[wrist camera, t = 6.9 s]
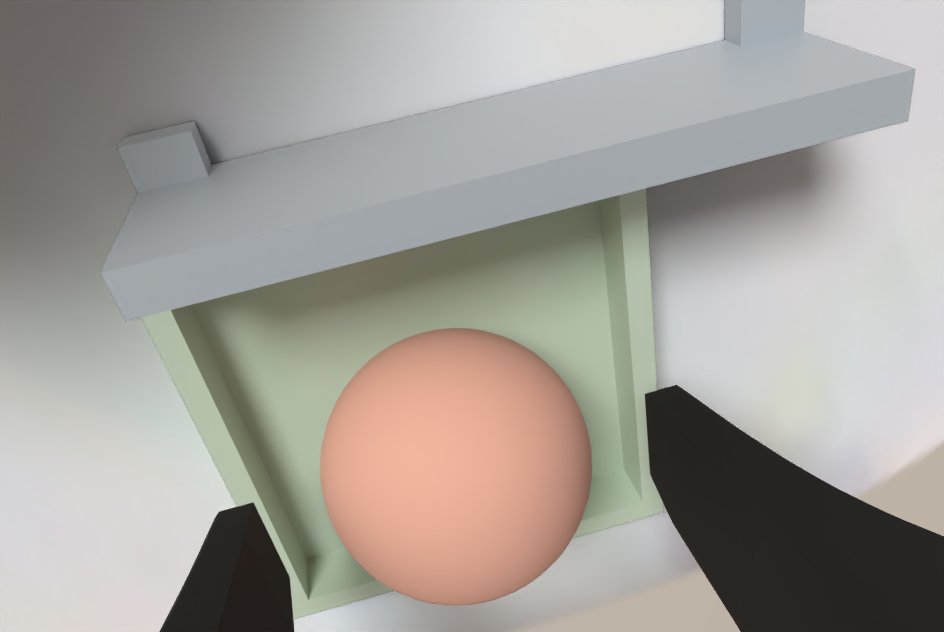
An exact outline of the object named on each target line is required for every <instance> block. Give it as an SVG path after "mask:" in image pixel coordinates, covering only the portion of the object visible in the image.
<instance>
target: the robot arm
mask: <svg viewBox="0 0 944 632" xmlns="http://www.w3.org/2000/svg"><path fill="white" fill-rule="evenodd" d="M645 407H646V422H647V437H648V452H649V467H650V475H651V477H652V480H653V482H654V484H655V486H656V488H657V491H658V493H659V495H660V497H661V499H662V502H663V504H664V506H665V508H666V510H667V512H668V514H669V516H670V518H671V520H672V522H673V524H674V526H675V527H676V529H677V531H678V532H679V534H680V535H681V537H682V539H683V540H684V542H685V543H686V545H687V547H688V548H689V550H690V552H691V553H692V555H693V556H694V558H695V560H696V561H697V563H698V564H699V566H700V567H701V569H702V571H703V572H704V574H705V575H706V577H707V578H708V580H709V582H710V583H711V585H712V586H713V588H714V590H715V591H716V593H717V594H718V596H719V597H720V599H721V601H722V602H723V604H724V606H725V607H726V609H727V610H728V612H729V613H730V615H731V617H732V618H733V620H734V621H735V623H736V625H737V626H738V628H739V630H740V631H741V632H944V536H941V535H939V534H936V533H934V532H931V531H929V530H927V529H924V528H922V527H919V526H917V525H914V524H912V523H909V522H907V521H904V520H902V519H900V518H898V517H895V516H893V515H891V514H888V513H886V512H884V511H882V510H880V509H878V508H876V507H873V506H871V505H869V504H867V503H865V502H863V501H861V500H859V499H857V498H855V497H853V496H851V495H849V494H847V493H845V492H843V491H841V490H839V489H837V488H835V487H833V486H831V485H830V484H828V483H826V482H824V481H822V480H821V479H819V478H817V477H815V476H814V475H812V474H810V473H808V472H807V471H805V470H803V469H801V468H800V467H798V466H796V465H795V464H793V463H791V462H790V461H788V460H786V459H785V458H783V457H782V456H780V455H778V454H777V453H775V452H774V451H772V450H771V449H769V448H768V447H766V446H764V445H763V444H761V443H760V442H758V441H757V440H755V439H754V438H752V437H750V436H749V435H747V434H746V433H744V432H743V431H742V430H740V429H739V428H737V427H736V426H734V425H733V424H731V423H730V422H728V421H727V420H726V419H724V418H723V417H721V416H720V415H718V414H717V413H716V412H714V411H713V410H711V409H710V408H709V407H707V406H706V405H704V404H703V403H702V402H700V401H699V400H697V399H696V398H695V397H693V396H692V395H690V394H689V393H688V392H686V391H685V390H683V389H682V388H680V387H679V386H677V385H675V386H671V387H667V388H664V389H660V390H657V391H653V392H649V393H646V394H645ZM160 632H294V622H293V608H292V597H291V585H290V577H289V574H288V572H287V570H286V568H285V566H284V564H283V562H282V560H281V558H280V556H279V554H278V552H277V550H276V548H275V546H274V544H273V541H272V539H271V537H270V535H269V533H268V531H267V529H266V527H265V525H264V523H263V521H262V519H261V517H260V515H259V513H258V511H257V508H256V506H255V504H254V502H253V503H249V504H245V505H242V506H238V507H235V508H231V509H227V510H224V511H220V512H219V513H218V514H217V516H216V517H215V519H214V521H213V524H212V526H211V528H210V530H209V532H208V534H207V537H206V539H205V541H204V543H203V545H202V547H201V550H200V552H199V554H198V556H197V558H196V560H195V562H194V564H193V567H192V569H191V571H190V573H189V575H188V577H187V579H186V581H185V583H184V585H183V587H182V589H181V591H180V593H179V595H178V597H177V599H176V601H175V603H174V605H173V607H172V609H171V611H170V612H169V614H168V616H167V618H166V620H165V622H164V624H163V626H162V628H161V630H160Z"/></svg>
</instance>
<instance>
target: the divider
mask: <svg viewBox="0 0 944 632" xmlns="http://www.w3.org/2000/svg"><path fill="white" fill-rule="evenodd" d="M804 11H805V0H725V40H723V41H719V42H715V43H710V44H706V45H702V46H698V47H694V48H690V49H686V50H682V51H677V52H673V53H669V54H665V55H661V56H657V57H653V58H649V59H644V60H640V61H636V62H632V63H628V64H624V65H620V66H616V67H611V68H607V69H603V70H599V71H595V72H591V73H587V74H583V75H578V76H574V77H570V78H566V79H562V80H558V81H554V82H550V83H545V84H541V85H537V86H533V87H529V88H525V89H521V90H517V91H512V92H508V93H504V94H500V95H496V96H492V97H488V98H484V99H479V100H475V101H471V102H467V103H463V104H459V105H455V106H451V107H446V108H442V109H438V110H434V111H430V112H426V113H422V114H418V115H413V116H409V117H405V118H401V119H397V120H393V121H389V122H385V123H381V124H376V125H372V126H368V127H364V128H360V129H356V130H352V131H348V132H343V133H339V134H335V135H331V136H327V137H323V138H319V139H315V140H310V141H306V142H302V143H298V144H294V145H290V146H286V147H282V148H277V149H273V150H269V151H265V152H261V153H257V154H253V155H249V156H244V157H240V158H236V159H232V160H228V161H224V162H220V163H216V164H211V161H210V159H209V156H208V154H207V151H206V149H205V146H204V143H203V141H202V138H201V136H200V133H199V131H198V128H197V126H196V123H195V121H191V122H186V123H182V124H178V125H174V126H169V127H165V128H161V129H157V130H153V131H148V132H144V133H140V134H136V135H132V136H127V137H124V138H123V140H122V141H121V143H120V145H119V146H118V148H117V150H118V152H119V154H120V156H121V159H122V161H123V163H124V165H125V167H126V170H127V172H128V174H129V176H130V178H131V180H132V183H133V185H134V187H135V189H136V191H137V196H136V198H135V200H134V202H133V204H132V207H131V209H130V211H129V213H128V215H127V217H126V219H125V222H124V224H123V226H122V228H121V230H120V232H119V234H118V236H117V239H116V241H115V243H114V245H113V247H112V249H111V251H110V253H109V256H108V258H107V260H106V262H105V264H104V266H103V268H102V270H101V273H100V274H101V276H102V278H103V280H104V281H105V283H106V285H107V287H108V289H109V291H110V293H111V295H112V297H113V299H114V301H115V303H116V305H117V306H118V308H119V310H120V312H121V314H122V316H123V318H124V320H125V322H126V321H130V320H134V319H138V318H141V317H145V316H149V315H153V314H157V313H161V312H165V311H169V310H173V309H177V308H180V307H184V306H188V305H192V304H196V303H200V302H204V301H208V300H212V299H216V298H220V297H223V296H227V295H231V294H235V293H239V292H243V291H247V290H251V289H255V288H259V287H262V286H266V285H270V284H274V283H278V282H282V281H286V280H290V279H294V278H298V277H301V276H305V275H309V274H313V273H317V272H321V271H325V270H329V269H333V268H337V267H341V266H344V265H348V264H352V263H356V262H360V261H364V260H368V259H372V258H376V257H380V256H383V255H387V254H391V253H395V252H399V251H403V250H407V249H411V248H415V247H419V246H422V245H426V244H430V243H434V242H438V241H442V240H446V239H450V238H454V237H458V236H462V235H465V234H469V233H473V232H477V231H481V230H485V229H489V228H493V227H497V226H501V225H504V224H508V223H512V222H516V221H520V220H524V219H528V218H532V217H536V216H540V215H543V214H547V213H551V212H555V211H559V210H563V209H567V208H571V207H575V206H579V205H583V204H586V203H590V202H594V201H598V200H602V199H606V198H610V197H614V196H618V195H622V194H625V193H629V192H633V191H637V190H641V189H645V188H649V187H653V186H657V185H661V184H664V183H668V182H672V181H676V180H680V179H684V178H688V177H692V176H696V175H700V174H704V173H707V172H711V171H715V170H719V169H723V168H727V167H731V166H735V165H739V164H743V163H746V162H750V161H754V160H758V159H762V158H766V157H770V156H774V155H778V154H782V153H785V152H789V151H793V150H797V149H801V148H805V147H809V146H813V145H817V144H821V143H824V142H828V141H832V140H836V139H840V138H844V137H848V136H852V135H856V134H860V133H864V132H867V131H871V130H875V129H879V128H883V127H887V126H891V125H895V124H899V123H903V122H906V121H908V118H909V111H910V104H911V97H912V90H913V83H914V76H915V68H912V67H909V66H906V65H903V64H900V63H897V62H894V61H891V60H888V59H885V58H882V57H879V56H876V55H872V54H869V53H866V52H863V51H860V50H857V49H854V48H851V47H848V46H845V45H842V44H839V43H836V42H833V41H830V40H827V39H824V38H821V37H818V36H815V35H812V34H809V33H806V32H803V28H804Z"/></svg>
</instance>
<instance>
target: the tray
mask: <svg viewBox="0 0 944 632" xmlns="http://www.w3.org/2000/svg"><path fill="white" fill-rule="evenodd" d="M141 319H142V320H143V322H144V324H145V326H146V328H147V330H148V332H149V334H150V336H151V338H152V340H153V342H154V344H155V346H156V348H157V350H158V352H159V354H160V356H161V358H162V360H163V362H164V364H165V366H166V368H167V370H168V372H169V374H170V376H171V378H172V380H173V382H174V384H175V386H176V388H177V390H178V392H179V394H180V396H181V398H182V400H183V402H184V404H185V406H186V408H187V410H188V412H189V414H190V416H191V418H192V420H193V422H194V424H195V426H196V428H197V429H198V431H199V433H200V435H201V437H202V439H203V441H204V443H205V445H206V447H207V449H208V451H209V453H210V455H211V457H212V459H213V461H214V463H215V465H216V467H217V469H218V471H219V473H220V475H221V477H222V479H223V481H224V483H225V485H226V487H227V489H228V491H229V493H230V495H231V497H232V499H233V501H234V503H235V505H236V507H238V506H242V505H245V504H249V503H253V502H254V504H255V506H256V508H257V511H258V513H259V515H260V517H261V519H262V521H263V523H264V525H265V527H266V529H267V531H268V533H269V535H270V537H271V539H272V541H273V544H274V546H275V548H276V550H277V552H278V554H279V556H280V558H281V560H282V562H283V564H284V566H285V568H286V570H287V572H288V574H289V577H290V585H291V597H292V608H293V620H294V619H298V618H301V617H305V616H308V615H311V614H315V613H318V612H322V611H325V610H329V609H332V608H336V607H339V606H342V605H346V604H349V603H353V602H356V601H360V600H363V599H366V598H370V597H373V596H377V595H380V594H384V593H387V592H390V591H394V590H393V589H391V588H389V587H388V586H386V585H385V584H383V583H382V582H380V581H379V580H377V579H376V578H374V577H373V576H372V575H370V574H369V573H368V572H367V571H366V570H365V569H364V568H363V567H362V566H361V565H360V564H359V563H358V562H357V561H356V560H355V559H354V558H353V557H352V556H351V554H350V553H349V551H348V550H347V549H346V547H345V546H344V544H343V543H342V541H341V540H340V538H339V537H338V535H337V533H336V531H335V529H334V527H333V525H332V522H331V520H330V517H329V515H328V512H327V508H326V505H325V501H324V497H323V492H322V486H321V475H320V460H321V448H322V443H323V438H324V434H325V430H326V426H327V422H328V420H329V417H330V415H331V413H332V410H333V408H334V406H335V404H336V401H337V399H338V398H339V396H340V395H341V393H342V391H343V390H344V388H345V387H346V385H347V384H348V383H349V382H350V380H351V379H352V378H353V377H354V375H355V374H356V373H357V372H358V371H359V370H360V369H361V368H362V367H363V366H364V365H365V364H366V363H367V362H368V361H369V360H370V359H372V358H373V357H374V356H376V355H377V354H378V353H379V352H381V351H382V350H384V349H386V348H387V347H389V346H391V345H393V344H394V343H397V342H399V341H401V340H403V339H405V338H408V337H410V336H414V335H417V334H420V333H423V332H428V331H433V330H437V329H448V328H468V329H476V330H482V331H486V332H490V333H493V334H497V335H501V336H503V337H506V338H508V339H511V340H513V341H515V342H517V343H519V344H520V345H522V346H524V347H525V348H527V349H529V350H530V351H532V352H534V353H535V354H537V355H538V356H539V357H540V358H541V359H543V360H544V361H545V362H546V363H547V364H548V365H549V366H550V367H551V368H553V369H554V371H555V372H556V373H557V374H558V375H559V376H560V377H561V379H562V380H563V381H564V383H565V384H566V385H567V387H568V388H569V390H570V391H571V393H572V395H573V396H574V398H575V400H576V402H577V404H578V406H579V408H580V410H581V413H582V415H583V418H584V421H585V423H586V427H587V431H588V435H589V440H590V445H591V454H592V478H591V485H590V492H589V499H588V502H587V505H586V508H585V511H584V514H583V517H582V520H581V522H580V524H579V527H578V529H577V531H576V533H575V534H574V536H573V537H572V538H576V537H579V536H583V535H586V534H590V533H593V532H597V531H600V530H603V529H607V528H610V527H614V526H617V525H621V524H624V523H627V522H631V521H634V520H638V519H641V518H645V517H648V516H651V515H655V514H658V513H662V512H664V509H663V502H662V499H661V497H660V495H659V493H658V491H657V488H656V486H655V484H654V482H653V480H652V477H651V475H650V467H649V452H648V437H647V422H646V407H645V394H646V393H649V392H653V391H657V382H656V363H655V345H654V327H653V309H652V290H651V272H650V254H649V236H648V217H647V199H646V188H645V189H641V190H637V191H633V192H629V193H625V194H622V195H618V196H614V197H610V198H606V199H602V200H598V201H594V202H590V203H586V204H583V205H579V206H575V207H571V208H567V209H563V210H559V211H555V212H551V213H547V214H543V215H540V216H536V217H532V218H528V219H524V220H520V221H516V222H512V223H508V224H504V225H501V226H497V227H493V228H489V229H485V230H481V231H477V232H473V233H469V234H465V235H462V236H458V237H454V238H450V239H446V240H442V241H438V242H434V243H430V244H426V245H422V246H419V247H415V248H411V249H407V250H403V251H399V252H395V253H391V254H387V255H383V256H380V257H376V258H372V259H368V260H364V261H360V262H356V263H352V264H348V265H344V266H341V267H337V268H333V269H329V270H325V271H321V272H317V273H313V274H309V275H305V276H301V277H298V278H294V279H290V280H286V281H282V282H278V283H274V284H270V285H266V286H262V287H259V288H255V289H251V290H247V291H243V292H239V293H235V294H231V295H227V296H223V297H220V298H216V299H212V300H208V301H204V302H200V303H196V304H192V305H188V306H184V307H180V308H177V309H173V310H169V311H165V312H161V313H157V314H153V315H149V316H145V317H141Z"/></svg>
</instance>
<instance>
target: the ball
mask: <svg viewBox="0 0 944 632" xmlns="http://www.w3.org/2000/svg"><path fill="white" fill-rule="evenodd" d="M320 475H321V486H322V492H323V497H324V501H325V505H326V508H327V512H328V515H329V517H330V520H331V522H332V525H333V527H334V529H335V531H336V533H337V535H338V537H339V538H340V540H341V541H342V543H343V544H344V546H345V547H346V549H347V550H348V551H349V553H350V554H351V556H352V557H353V558H354V559H355V560H356V561H357V562H358V563H359V564H360V565H361V566H362V567H363V568H364V569H365V570H366V571H367V572H368V573H369V574H370V575H372V576H373V577H374V578H376V579H377V580H379V581H380V582H382V583H383V584H385V585H386V586H388V587H389V588H391V589H393V590H395V591H397V592H399V593H401V594H404V595H406V596H409V597H411V598H414V599H417V600H420V601H424V602H429V603H435V604H444V605H470V604H477V603H483V602H487V601H491V600H495V599H498V598H500V597H503V596H506V595H508V594H510V593H513V592H515V591H517V590H519V589H521V588H522V587H524V586H526V585H527V584H529V583H530V582H532V581H533V580H535V579H536V578H537V577H538V576H540V575H541V574H542V573H543V572H544V571H546V570H547V569H548V568H549V567H550V566H551V565H552V564H553V563H554V562H555V561H556V560H557V559H558V558H559V556H560V555H561V554H562V553H563V551H564V550H565V549H566V547H567V545H568V544H569V542H570V541H571V539H572V537H573V536H574V534H575V533H576V531H577V529H578V527H579V524H580V522H581V520H582V517H583V514H584V511H585V508H586V505H587V502H588V499H589V492H590V485H591V478H592V454H591V445H590V440H589V435H588V431H587V427H586V423H585V421H584V418H583V415H582V413H581V410H580V408H579V406H578V404H577V402H576V400H575V398H574V396H573V395H572V393H571V391H570V390H569V388H568V387H567V385H566V384H565V383H564V381H563V380H562V379H561V377H560V376H559V375H558V374H557V373H556V372H555V371H554V369H553V368H551V367H550V366H549V365H548V364H547V363H546V362H545V361H544V360H543V359H541V358H540V357H539V356H538V355H537V354H535V353H534V352H532V351H530V350H529V349H527V348H525V347H524V346H522V345H520V344H519V343H517V342H515V341H513V340H511V339H508V338H506V337H503V336H501V335H497V334H493V333H490V332H486V331H482V330H476V329H468V328H448V329H437V330H433V331H428V332H423V333H420V334H417V335H414V336H410V337H408V338H405V339H403V340H401V341H399V342H397V343H394V344H393V345H391V346H389V347H387V348H386V349H384V350H382V351H381V352H379V353H378V354H377V355H376V356H374V357H373V358H372V359H370V360H369V361H368V362H367V363H366V364H365V365H364V366H363V367H362V368H361V369H360V370H359V371H358V372H357V373H356V374H355V375H354V377H353V378H352V379H351V380H350V382H349V383H348V384H347V385H346V387H345V388H344V390H343V391H342V393H341V395H340V396H339V398H338V399H337V401H336V404H335V406H334V408H333V410H332V413H331V415H330V417H329V420H328V422H327V426H326V430H325V434H324V438H323V443H322V448H321V460H320Z"/></svg>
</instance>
